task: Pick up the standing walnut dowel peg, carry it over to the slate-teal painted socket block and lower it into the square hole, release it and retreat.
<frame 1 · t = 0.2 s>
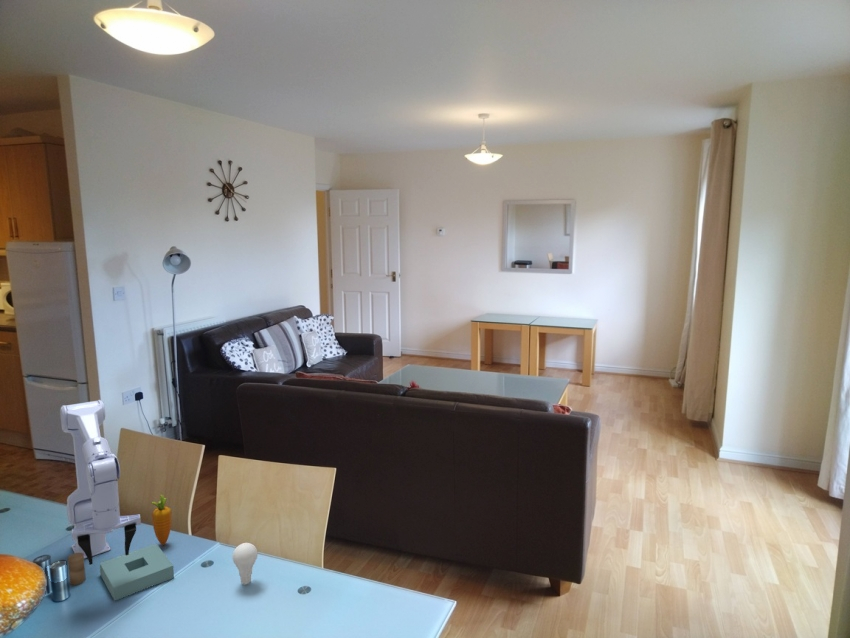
hand: (109, 557, 133), 10 cm above the table, fingers open, 7 cm apart
lightbulb: (246, 584, 140), on the table
socket block: (137, 576, 142), on the table
carrot: (163, 546, 157), on the table
peg: (77, 581, 140), on the table
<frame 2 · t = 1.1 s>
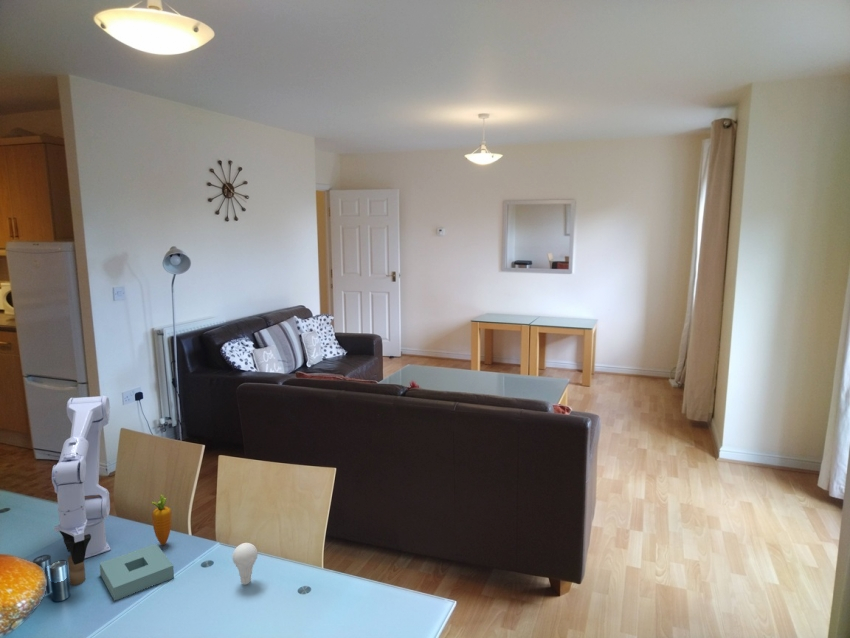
hand: (75, 556, 139), 7 cm above the table, fingers open, 7 cm apart
nothing on the table moved.
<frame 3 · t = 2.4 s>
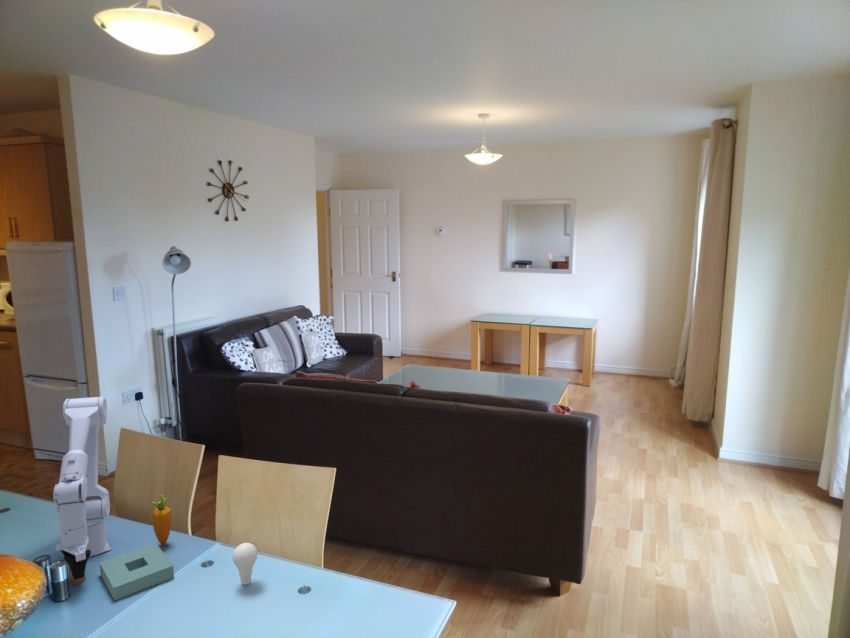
hand: (77, 574, 140), 2 cm above the table, fingers closed on peg, 3 cm apart
peg: (77, 581, 140), on the table, touching gripper
everything else where it was.
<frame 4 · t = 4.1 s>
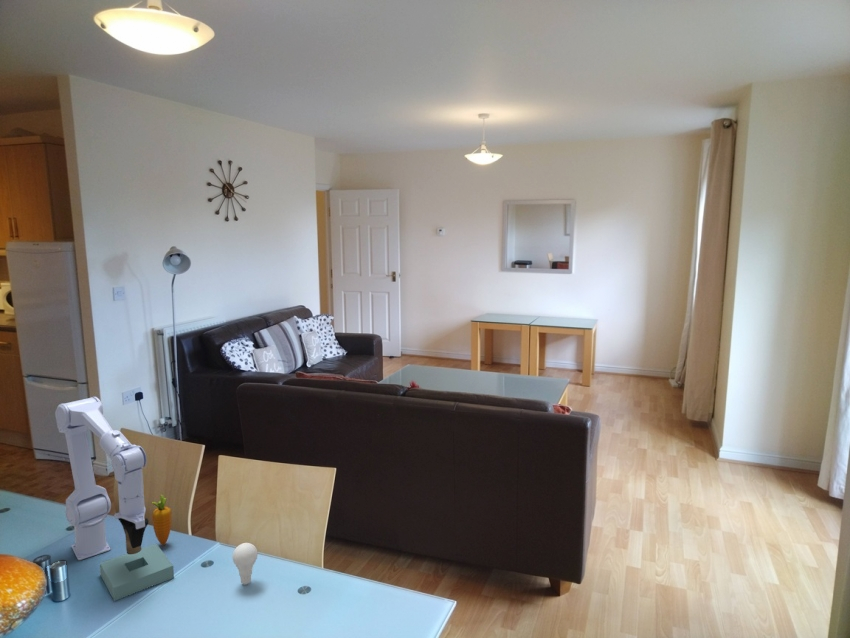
hand: (134, 543, 141), 9 cm above the table, fingers closed on peg, 3 cm apart
peg: (134, 550, 141), point 7 cm above the table, touching gripper
everything else where it was.
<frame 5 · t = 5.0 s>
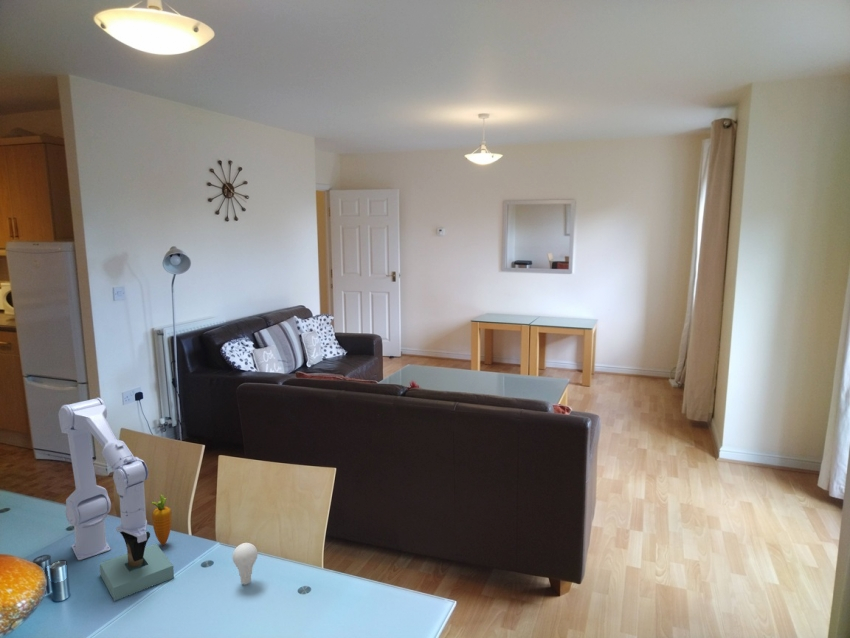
hand: (135, 556, 141), 6 cm above the table, fingers closed on peg, 3 cm apart
peg: (135, 563, 141), point 4 cm above the table, touching gripper
everything else where it was.
when the fingers open (4 cm above the table, at t = 5.8 s): peg drops 2 cm, resting in socket block.
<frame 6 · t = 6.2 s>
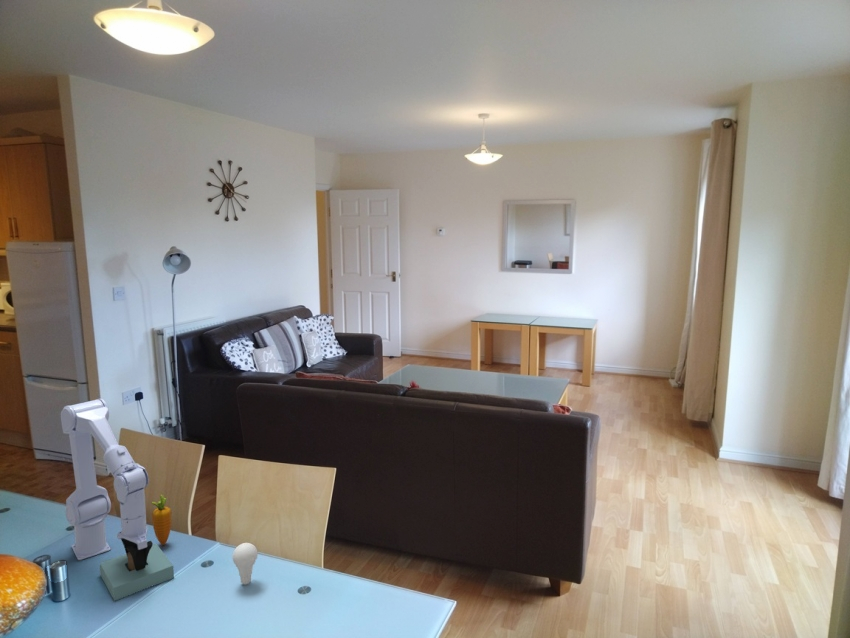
hand: (136, 562, 142), 4 cm above the table, fingers open, 7 cm apart
peg: (136, 576, 142), resting in socket block
everything else where it was.
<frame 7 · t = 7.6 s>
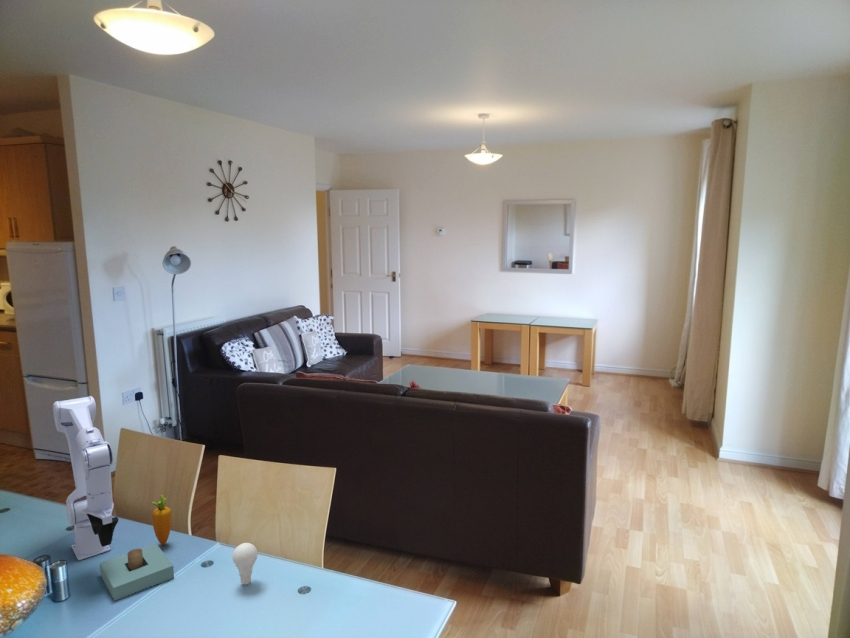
hand: (102, 538, 142), 10 cm above the table, fingers open, 7 cm apart
nothing on the table moved.
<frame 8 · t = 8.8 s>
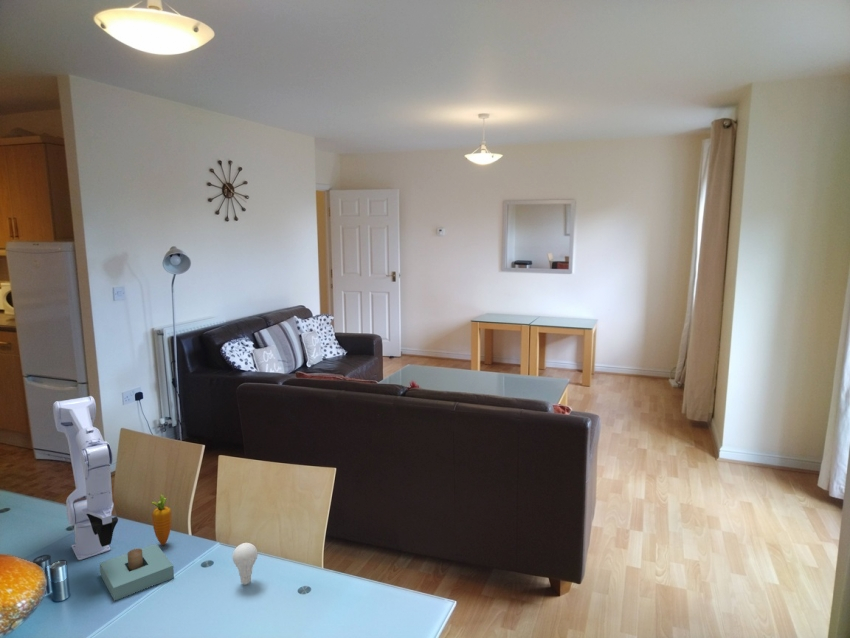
hand: (102, 538, 142), 10 cm above the table, fingers open, 7 cm apart
nothing on the table moved.
at the end: peg 0.2 cm off-centre on the socket block, point 0.0 cm above the socket block's base; peg tilted 0°; the gripper is holding nothing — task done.
